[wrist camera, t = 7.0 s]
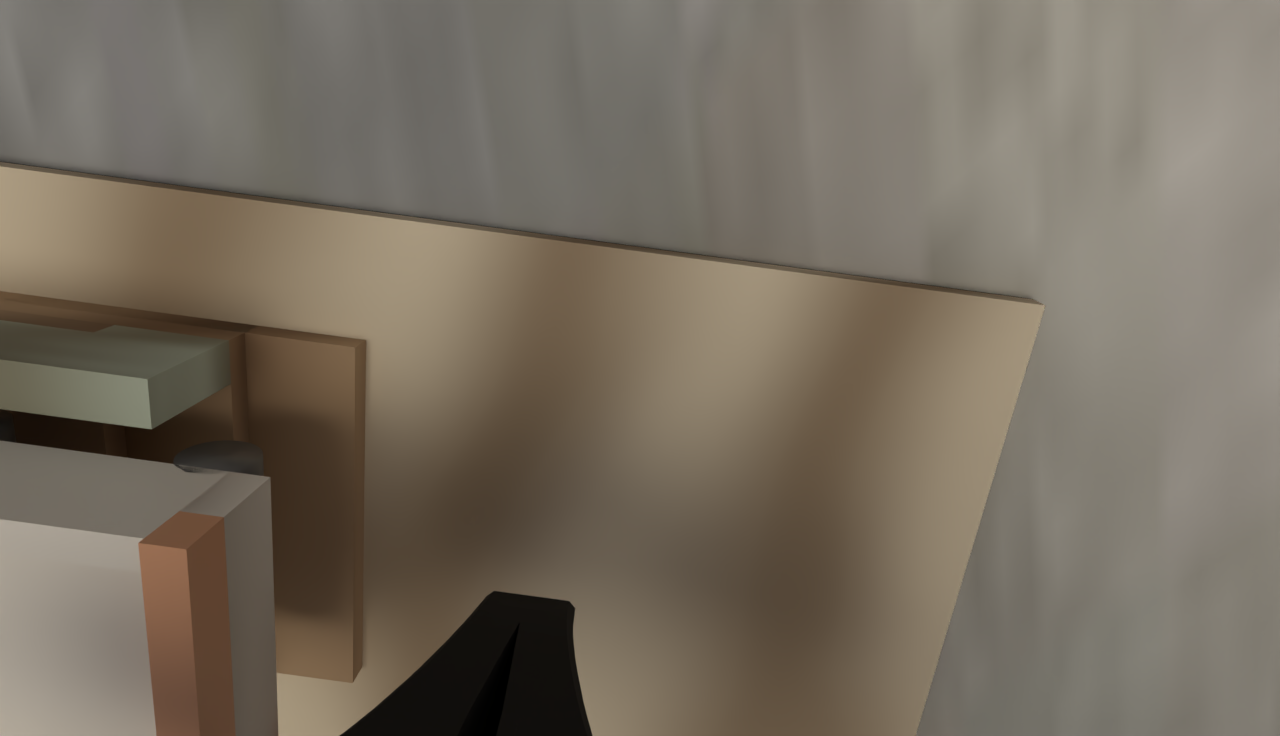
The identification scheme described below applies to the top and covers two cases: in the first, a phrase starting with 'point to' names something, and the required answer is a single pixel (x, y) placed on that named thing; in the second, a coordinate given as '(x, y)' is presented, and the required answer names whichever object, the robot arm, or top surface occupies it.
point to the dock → (535, 441)
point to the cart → (136, 592)
